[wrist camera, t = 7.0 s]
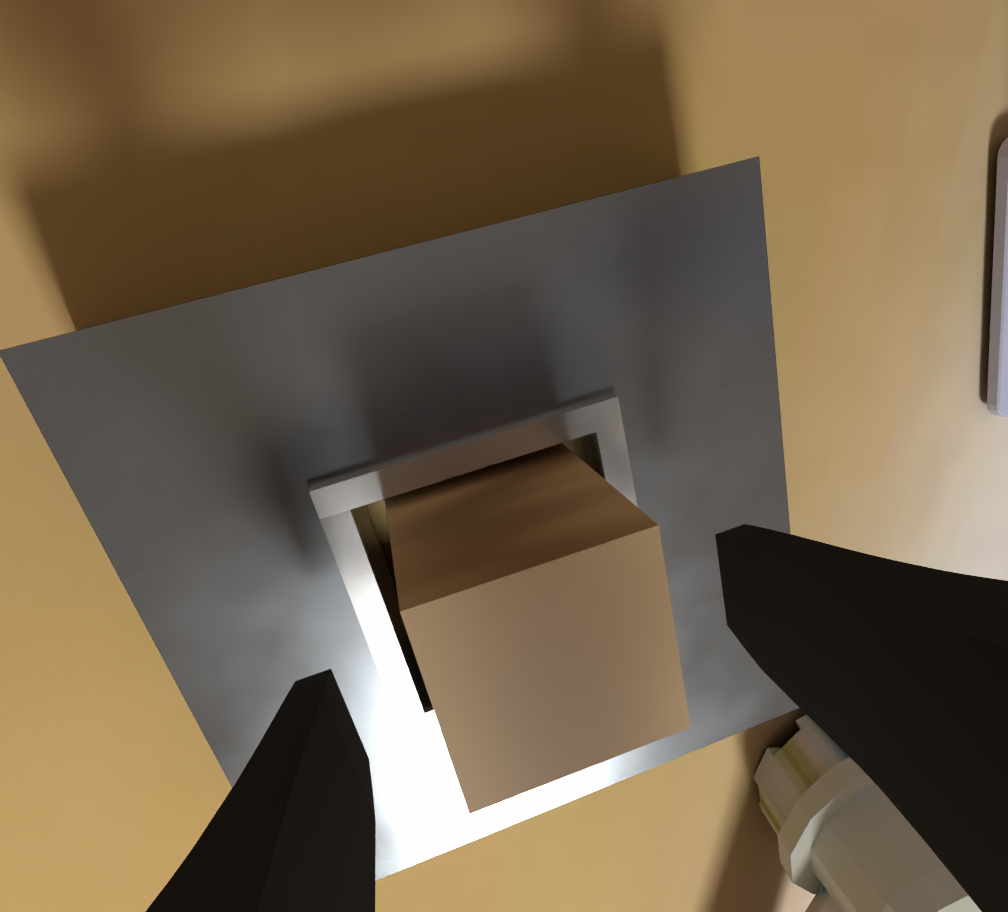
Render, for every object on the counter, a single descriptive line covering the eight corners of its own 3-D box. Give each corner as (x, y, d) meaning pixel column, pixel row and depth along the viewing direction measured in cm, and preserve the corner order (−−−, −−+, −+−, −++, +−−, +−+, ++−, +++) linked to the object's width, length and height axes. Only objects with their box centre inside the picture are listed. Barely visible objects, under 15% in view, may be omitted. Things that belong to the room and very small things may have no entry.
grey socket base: (681, 177, 15) (765, 154, 12) (739, 643, 19) (809, 710, 17) (75, 332, 13) (-10, 352, 10) (307, 808, 17) (298, 919, 14)
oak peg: (531, 417, 16) (659, 524, 9) (561, 550, 17) (691, 727, 10) (379, 462, 15) (400, 611, 9) (423, 597, 16) (469, 814, 10)
